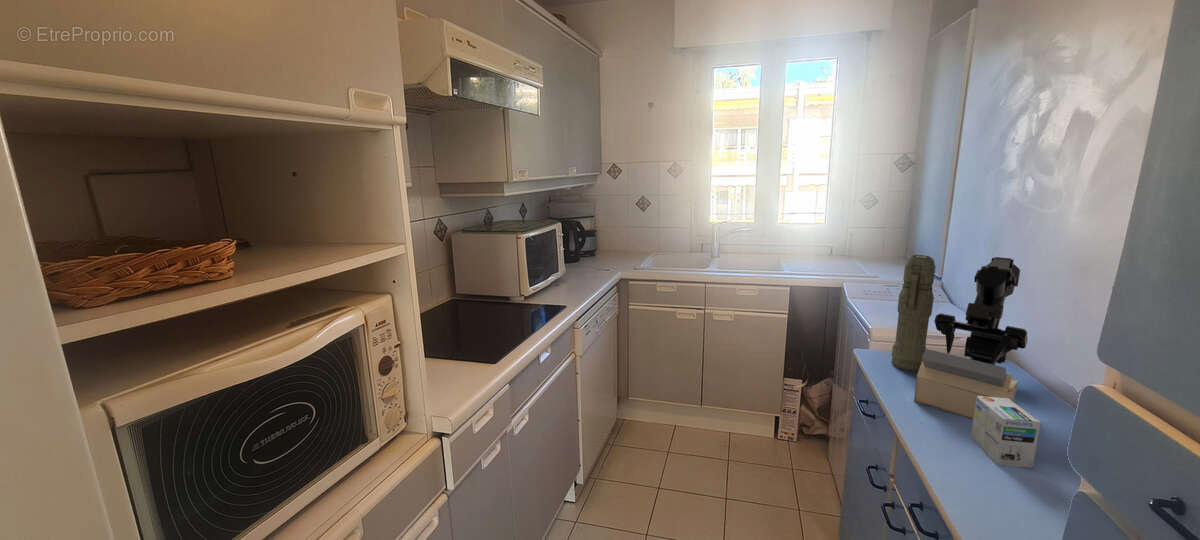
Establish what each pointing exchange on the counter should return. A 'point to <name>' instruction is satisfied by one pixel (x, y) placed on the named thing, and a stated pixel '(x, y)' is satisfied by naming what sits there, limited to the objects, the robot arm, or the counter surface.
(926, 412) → the counter surface
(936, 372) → the grey stone
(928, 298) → the thermos
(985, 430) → the light bulb box
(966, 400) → the carton
